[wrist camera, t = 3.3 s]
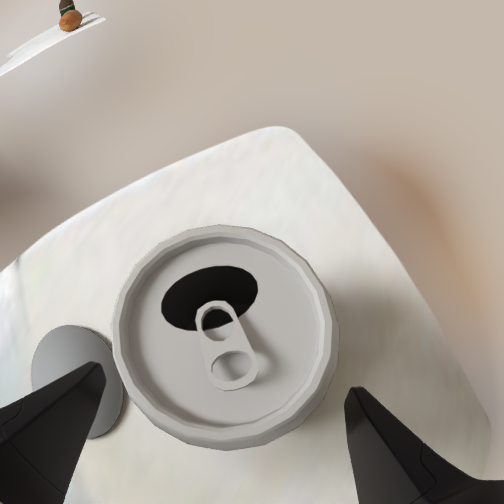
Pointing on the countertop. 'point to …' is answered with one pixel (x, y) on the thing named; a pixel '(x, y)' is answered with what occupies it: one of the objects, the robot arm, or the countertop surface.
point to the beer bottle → (66, 6)
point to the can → (225, 337)
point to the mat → (73, 356)
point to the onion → (70, 20)
